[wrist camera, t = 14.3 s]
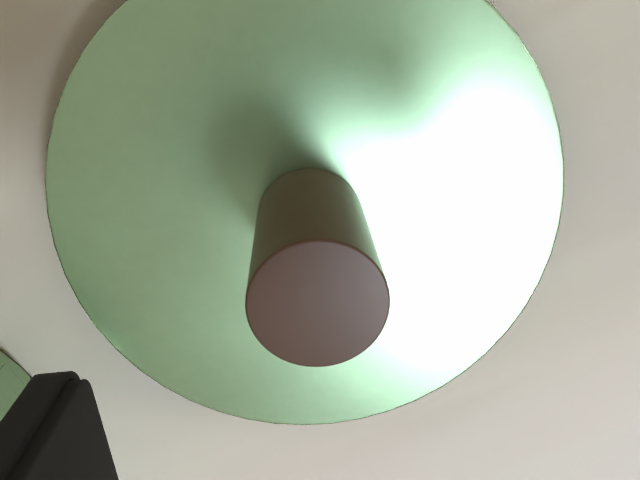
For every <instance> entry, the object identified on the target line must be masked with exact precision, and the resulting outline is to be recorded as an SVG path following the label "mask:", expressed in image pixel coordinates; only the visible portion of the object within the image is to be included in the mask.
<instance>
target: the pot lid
mask: <svg viewBox="0 0 640 480" xmlns="http://www.w3.org/2000/svg"><path fill="white" fill-rule="evenodd" d="M45 187H46V200H47V214H48V218H49V223H50V228H51V232H52V237H53V241H54V246H55V249H56V251H57V254H58V257H59V260H60V262H61V265H62V268H63V271H64V273H65V276H66V278H67V280H68V282H69V283H70V285H71V287H72V289H73V291H74V293H75V295H76V297H77V299H78V301H79V303H80V304H81V306H82V307H83V308H84V310H85V311H86V313H87V314H88V316H89V317H90V318H91V320H92V321H93V323H94V324H95V326H96V327H97V328H98V329H99V331H100V332H101V333H102V334H103V335H104V336H105V337H106V338H107V339H108V341H109V342H110V343H111V344H112V345H113V346H114V347H115V348H116V349H117V351H119V352H120V353H121V354H122V355H123V356H124V357H125V358H127V359H128V360H129V361H130V362H131V363H132V364H133V365H135V366H136V367H137V368H138V369H139V370H140V371H142V372H143V373H145V374H146V375H148V376H149V377H151V378H152V379H154V380H155V381H157V382H158V383H159V384H161V385H162V386H164V387H166V388H167V389H169V390H171V391H173V392H175V393H177V394H179V395H181V396H183V397H185V398H186V399H188V400H190V401H193V402H195V403H198V404H200V405H203V406H205V407H208V408H211V409H213V410H216V411H218V412H222V413H226V414H229V415H233V416H237V417H240V418H244V419H249V420H256V421H262V422H268V423H275V424H294V425H311V424H330V423H337V422H344V421H350V420H356V419H361V418H365V417H369V416H373V415H376V414H380V413H384V412H387V411H390V410H393V409H395V408H398V407H400V406H403V405H405V404H408V403H411V402H413V401H416V400H417V399H419V398H421V397H423V396H425V395H427V394H429V393H431V392H433V391H435V390H437V389H439V388H441V387H442V386H444V385H445V384H447V383H448V382H450V381H451V380H453V379H454V378H456V377H457V376H459V375H460V374H462V373H463V372H465V371H466V370H467V369H468V368H469V367H471V366H472V365H473V364H474V363H475V362H476V361H478V360H479V359H480V358H481V357H482V356H484V355H485V354H486V353H487V352H488V351H489V350H490V349H491V348H492V347H493V346H494V345H495V344H496V343H497V341H498V340H499V339H500V338H501V337H502V336H503V335H504V334H505V333H506V332H507V331H508V329H509V328H510V327H511V325H512V324H513V323H514V321H515V320H516V319H517V317H518V316H519V315H520V313H521V312H522V311H523V309H524V308H525V306H526V305H527V303H528V301H529V299H530V298H531V296H532V294H533V292H534V291H535V289H536V287H537V285H538V284H539V282H540V280H541V277H542V275H543V272H544V270H545V268H546V265H547V263H548V260H549V258H550V256H551V253H552V250H553V246H554V242H555V239H556V235H557V231H558V228H559V224H560V217H561V210H562V202H563V195H564V157H563V150H562V143H561V136H560V129H559V124H558V121H557V117H556V114H555V110H554V107H553V103H552V100H551V96H550V94H549V91H548V89H547V87H546V85H545V82H544V80H543V78H542V76H541V74H540V71H539V69H538V67H537V65H536V63H535V61H534V60H533V58H532V57H531V55H530V53H529V52H528V50H527V49H526V47H525V46H524V44H523V43H522V41H521V39H520V38H519V36H518V35H517V33H516V32H515V31H514V30H513V29H512V27H511V26H510V25H509V24H508V23H507V22H506V21H505V19H504V18H503V17H502V16H501V15H500V14H499V13H498V11H497V10H496V9H495V8H494V7H493V6H492V5H491V4H490V3H489V2H488V1H486V0H126V1H125V2H124V3H123V4H122V5H121V6H120V7H119V8H118V9H117V10H116V11H115V12H114V13H113V14H112V15H111V16H110V17H109V18H108V19H107V20H106V21H105V22H104V24H103V25H102V26H101V28H100V29H99V30H98V32H97V33H96V34H95V35H94V37H93V38H92V39H91V41H90V42H89V43H88V45H87V46H86V47H85V49H84V50H83V52H82V54H81V56H80V58H79V59H78V61H77V63H76V65H75V67H74V68H73V70H72V72H71V74H70V75H69V77H68V79H67V82H66V84H65V87H64V89H63V92H62V95H61V97H60V100H59V103H58V105H57V108H56V111H55V114H54V118H53V123H52V128H51V132H50V137H49V141H48V146H47V159H46V173H45Z"/></svg>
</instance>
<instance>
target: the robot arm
mask: <svg viewBox="0 0 640 480" xmlns="http://www.w3.org/2000/svg"><path fill="white" fill-rule="evenodd" d="M0 480H119V479H118V476H117V472H116V469H115V466H114V462H113V459H112V455H111V452H110V448H109V445H108V442H107V438H106V435H105V431H104V428H103V425H102V421H101V418H100V414H99V411H98V407H97V404H96V401H95V397H94V394H93V390H92V387H91V385H90V383H89V381H88V380H86V379H82V380H80V378H79V376H78V375H77V374H76V373H75V372H73V371H68V372H56V373H45V374H37V375H35V376H34V377H32V378H31V380H30V381H29V382H28V384H27V385H26V387H25V388H24V389H23V391H22V392H21V394H20V395H19V396H18V398H17V399H16V401H15V402H14V403H13V405H12V406H11V408H10V409H9V410H8V412H7V413H6V414H5V416H4V417H3V419H2V420H1V421H0Z"/></svg>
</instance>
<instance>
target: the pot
mask: <svg viewBox="0 0 640 480" xmlns="http://www.w3.org/2000/svg"><path fill="white" fill-rule="evenodd" d="M30 380H31V377H30V376H29V375H28V374H27V373H26V372H25V371H24V370H23V369H22V368H21V367H20V366H19V365H18V364H16V363H15V362H14V361H13V360H11V359H10V358H9V357H8V356H6V355H5V354H4V353H3V352H1V351H0V421H1V420H2V419H3V417H4V416H5V414H6V413H7V412H8V410H9V409H10V408H11V406H12V405H13V403H14V402H15V401H16V399H17V398H18V396H19V395H20V394H21V392H22V391H23V389H24V388H25V387H26V385H27V384H28V382H29V381H30Z"/></svg>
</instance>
